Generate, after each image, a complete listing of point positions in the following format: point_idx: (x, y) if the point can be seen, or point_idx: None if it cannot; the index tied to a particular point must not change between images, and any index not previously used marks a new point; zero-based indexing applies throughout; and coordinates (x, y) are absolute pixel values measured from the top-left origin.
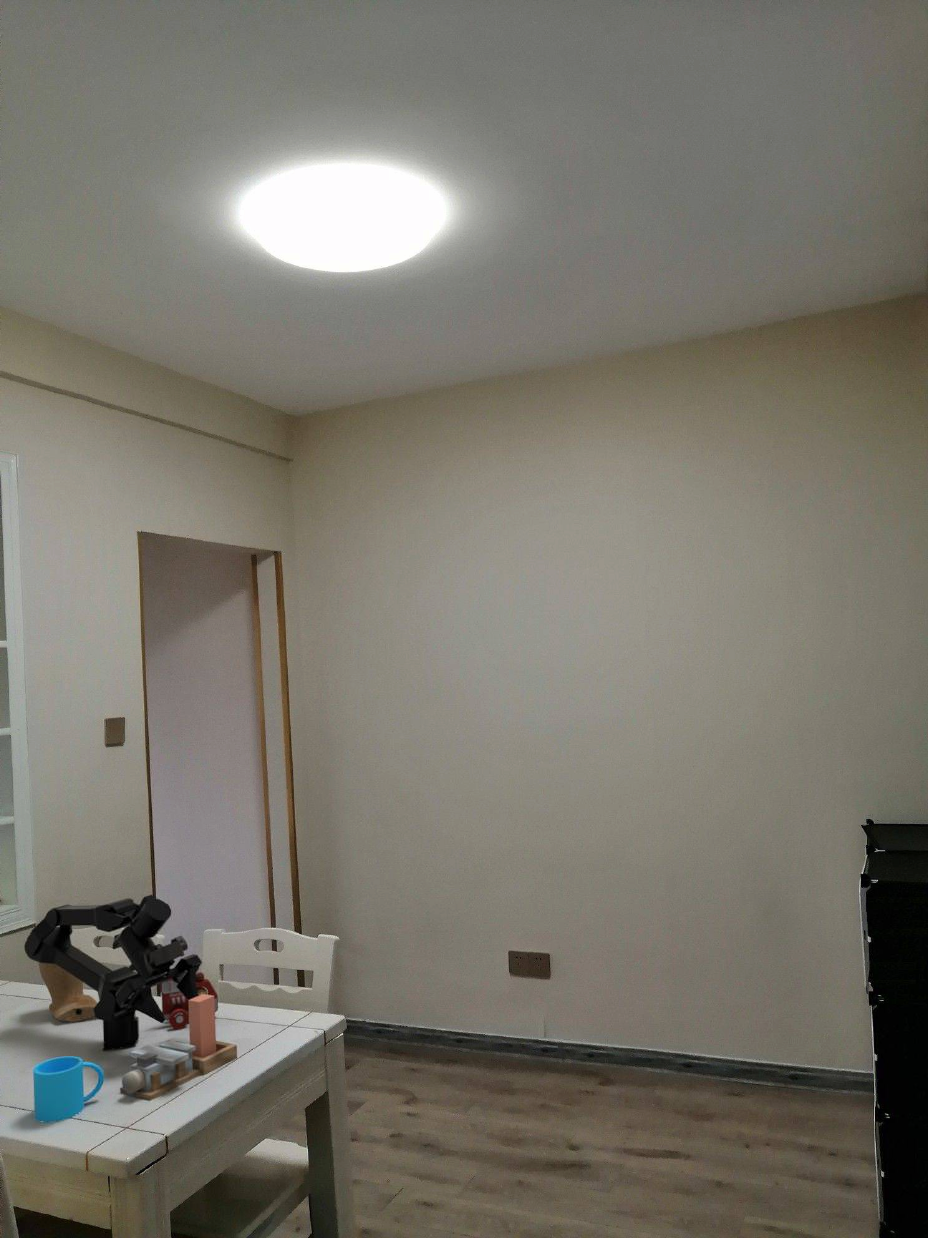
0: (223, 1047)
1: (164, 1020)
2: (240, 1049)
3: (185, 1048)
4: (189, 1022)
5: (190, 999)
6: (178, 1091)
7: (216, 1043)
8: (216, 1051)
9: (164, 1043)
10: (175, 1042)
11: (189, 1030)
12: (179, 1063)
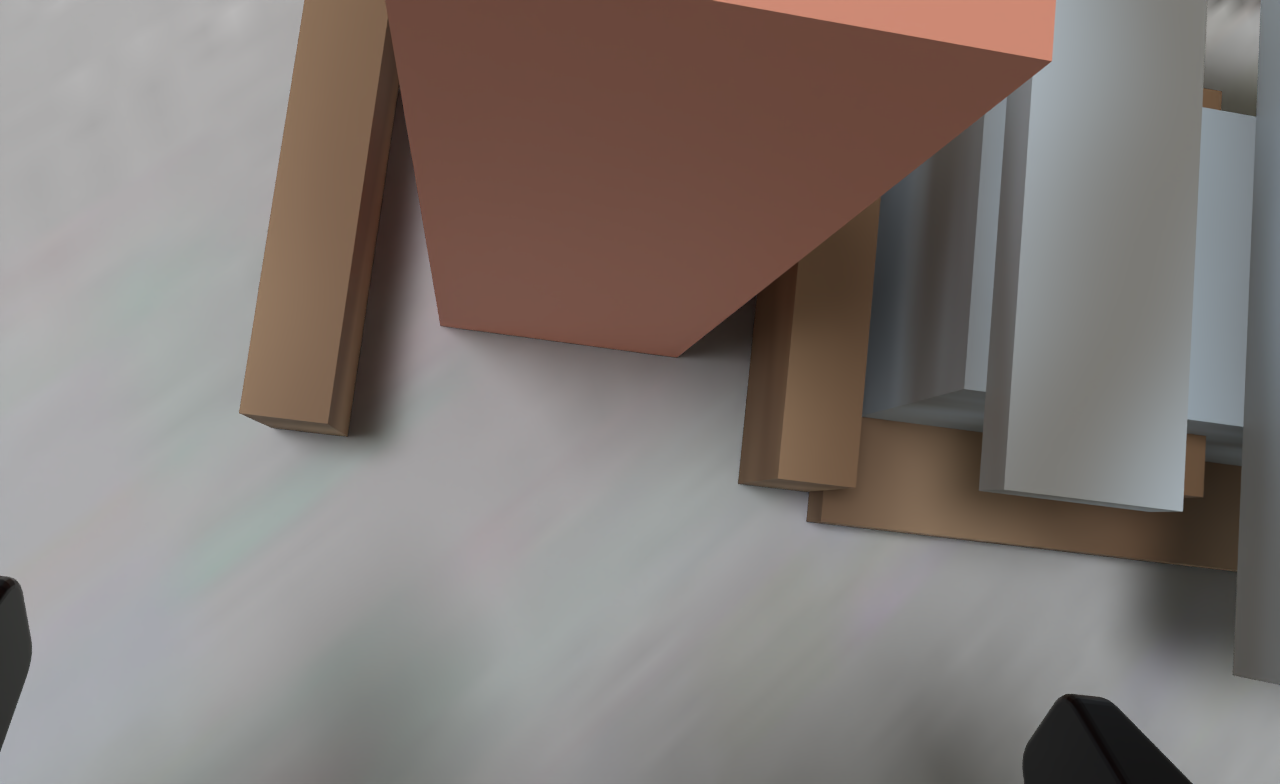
0: (389, 41)
1: (1086, 696)
2: (87, 60)
3: (1159, 42)
4: (828, 229)
5: (982, 30)
6: (1227, 57)
7: (355, 162)
8: (374, 191)
9: (1123, 481)
10: (1034, 341)
11: (781, 274)
12: (1205, 90)
